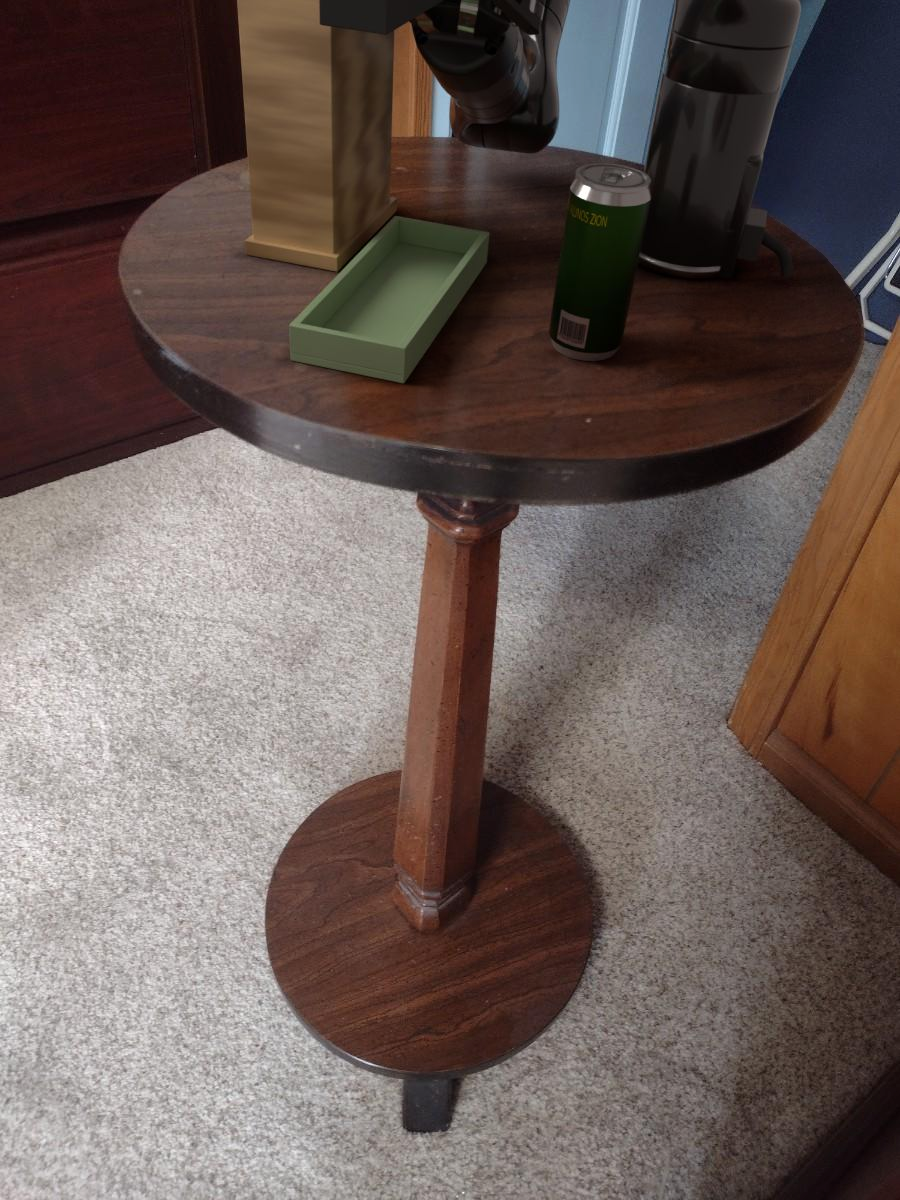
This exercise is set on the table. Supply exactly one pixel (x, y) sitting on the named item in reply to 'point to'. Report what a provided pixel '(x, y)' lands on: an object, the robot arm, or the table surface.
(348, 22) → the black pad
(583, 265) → the beer can
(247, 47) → the stand
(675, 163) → the robot arm
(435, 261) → the green rectangular tray
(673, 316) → the table surface
